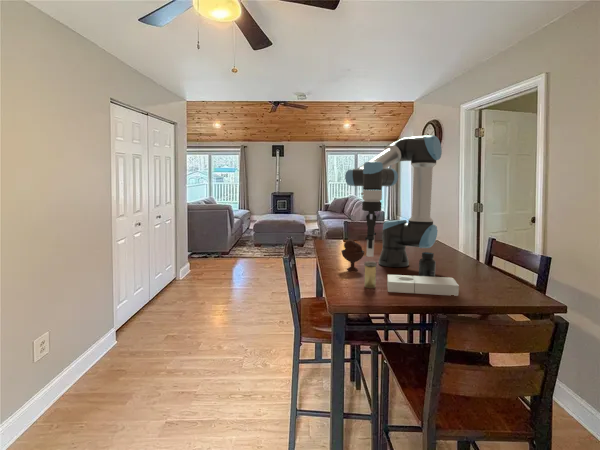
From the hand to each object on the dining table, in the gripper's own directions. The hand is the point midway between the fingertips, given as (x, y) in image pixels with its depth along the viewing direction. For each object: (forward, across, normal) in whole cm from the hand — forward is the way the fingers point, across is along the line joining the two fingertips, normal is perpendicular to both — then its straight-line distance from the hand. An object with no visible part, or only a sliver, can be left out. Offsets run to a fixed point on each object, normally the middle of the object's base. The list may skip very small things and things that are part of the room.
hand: (370, 253), depth 153 cm
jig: (+14, 0, +20) cm, 24 cm away
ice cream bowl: (+14, -28, -9) cm, 33 cm away
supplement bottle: (+14, -16, +24) cm, 32 cm away
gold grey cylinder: (+14, 0, 0) cm, 14 cm away
